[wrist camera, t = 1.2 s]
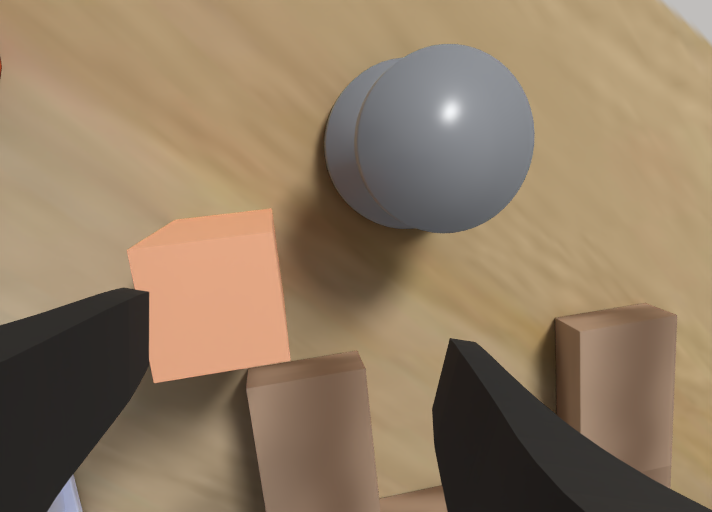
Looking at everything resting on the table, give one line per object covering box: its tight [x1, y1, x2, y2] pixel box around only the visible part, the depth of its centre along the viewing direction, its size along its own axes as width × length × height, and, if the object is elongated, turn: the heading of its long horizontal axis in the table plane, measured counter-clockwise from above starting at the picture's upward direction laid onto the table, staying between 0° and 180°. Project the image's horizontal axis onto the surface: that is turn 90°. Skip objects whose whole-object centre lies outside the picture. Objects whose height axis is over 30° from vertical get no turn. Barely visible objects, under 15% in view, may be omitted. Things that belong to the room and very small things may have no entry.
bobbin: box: [324, 44, 534, 233], centre depth 19 cm, size 7×7×6 cm
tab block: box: [127, 209, 291, 383], centre depth 18 cm, size 4×4×7 cm
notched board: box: [246, 303, 677, 512], centre depth 24 cm, size 20×12×2 cm, turn 96°
